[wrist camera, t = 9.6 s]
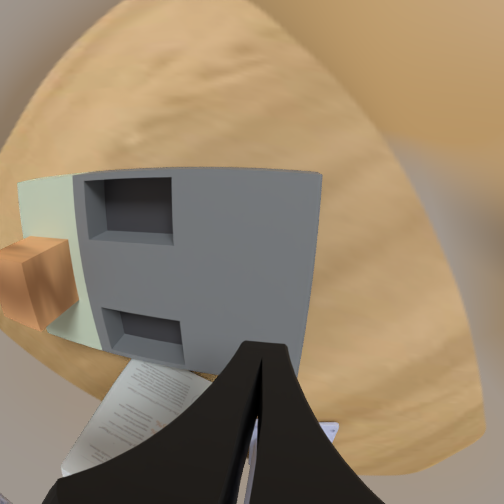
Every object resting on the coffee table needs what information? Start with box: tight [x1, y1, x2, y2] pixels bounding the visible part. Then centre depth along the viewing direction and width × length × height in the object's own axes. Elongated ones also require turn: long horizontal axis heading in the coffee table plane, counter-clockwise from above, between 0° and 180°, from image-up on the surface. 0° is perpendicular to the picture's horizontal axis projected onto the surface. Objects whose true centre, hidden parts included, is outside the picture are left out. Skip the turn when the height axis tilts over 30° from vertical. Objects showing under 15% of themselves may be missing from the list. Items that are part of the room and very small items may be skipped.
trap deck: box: [17, 167, 322, 377], centre depth 17 cm, size 13×21×2 cm, turn 88°
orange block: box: [0, 236, 79, 332], centre depth 15 cm, size 4×4×4 cm
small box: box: [61, 358, 213, 477], centre depth 16 cm, size 8×6×13 cm
